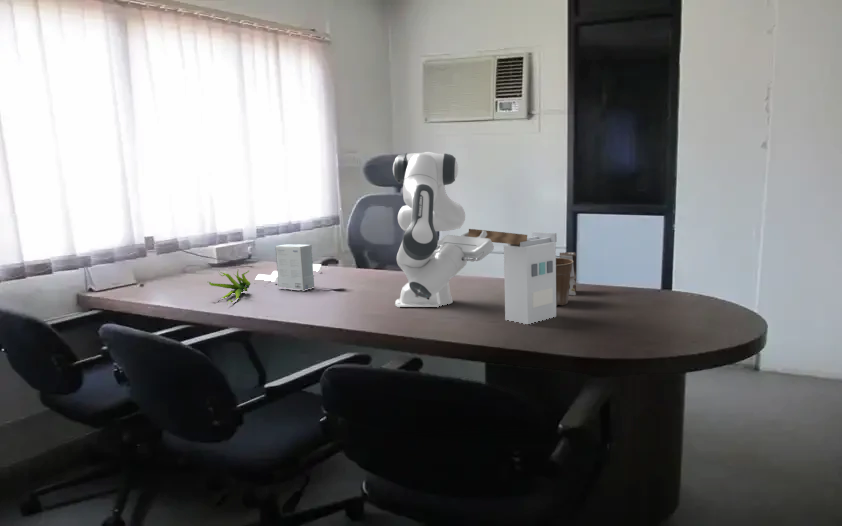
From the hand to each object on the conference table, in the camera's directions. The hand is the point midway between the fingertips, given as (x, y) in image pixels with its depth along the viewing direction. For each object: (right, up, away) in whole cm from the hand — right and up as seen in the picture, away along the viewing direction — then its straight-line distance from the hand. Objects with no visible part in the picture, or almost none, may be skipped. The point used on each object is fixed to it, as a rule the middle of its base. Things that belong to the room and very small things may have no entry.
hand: (479, 231), depth 209 cm
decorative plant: (-96, -26, +71) cm, 123 cm away
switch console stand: (+20, -29, +20) cm, 40 cm away
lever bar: (+7, -3, +6) cm, 10 cm away
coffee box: (+41, -22, +59) cm, 75 cm away
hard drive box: (-74, -22, +91) cm, 119 cm away
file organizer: (-84, -18, +120) cm, 147 cm away
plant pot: (+31, -25, +42) cm, 58 cm away
